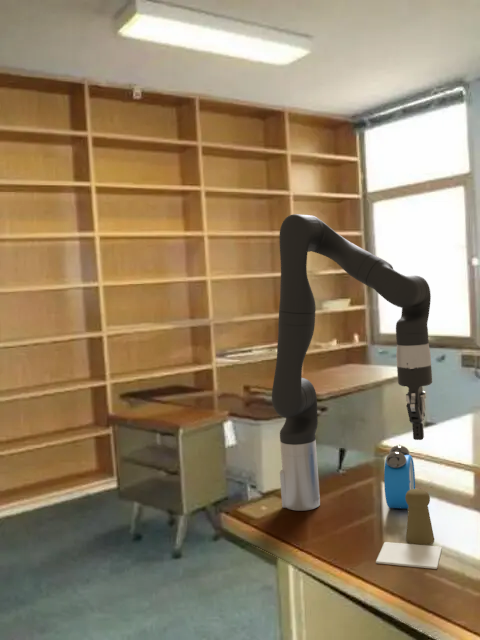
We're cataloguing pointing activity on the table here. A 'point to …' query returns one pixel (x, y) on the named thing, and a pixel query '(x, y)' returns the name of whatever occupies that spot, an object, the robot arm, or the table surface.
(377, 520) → the table surface
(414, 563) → the mat
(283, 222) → the robot arm
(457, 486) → the table surface
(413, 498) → the cork
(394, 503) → the alarm clock
